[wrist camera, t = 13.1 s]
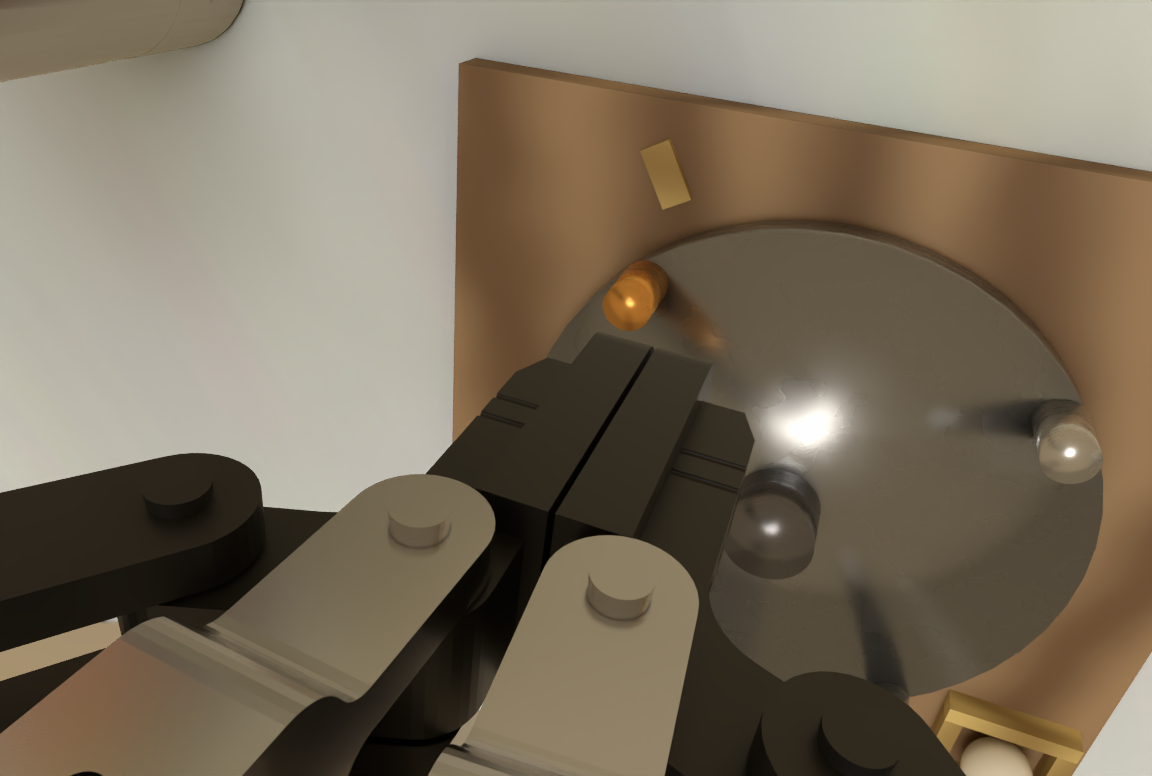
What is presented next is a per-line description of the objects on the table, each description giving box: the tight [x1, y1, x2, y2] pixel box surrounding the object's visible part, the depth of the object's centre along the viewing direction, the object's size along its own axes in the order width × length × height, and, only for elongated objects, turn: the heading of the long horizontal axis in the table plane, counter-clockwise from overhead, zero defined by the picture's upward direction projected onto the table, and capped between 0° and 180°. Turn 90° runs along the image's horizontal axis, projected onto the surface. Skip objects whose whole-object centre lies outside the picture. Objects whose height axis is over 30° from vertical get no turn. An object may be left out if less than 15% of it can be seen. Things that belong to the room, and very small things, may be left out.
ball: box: [960, 737, 1033, 776], centre depth 39 cm, size 3×3×3 cm
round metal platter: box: [547, 220, 1103, 705], centre depth 35 cm, size 23×23×4 cm
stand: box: [453, 58, 1152, 776], centre depth 37 cm, size 32×30×3 cm
